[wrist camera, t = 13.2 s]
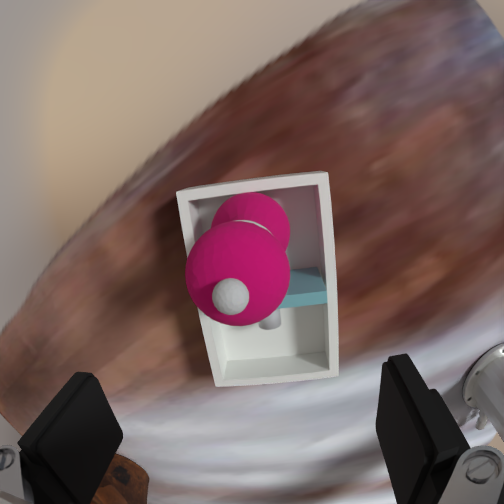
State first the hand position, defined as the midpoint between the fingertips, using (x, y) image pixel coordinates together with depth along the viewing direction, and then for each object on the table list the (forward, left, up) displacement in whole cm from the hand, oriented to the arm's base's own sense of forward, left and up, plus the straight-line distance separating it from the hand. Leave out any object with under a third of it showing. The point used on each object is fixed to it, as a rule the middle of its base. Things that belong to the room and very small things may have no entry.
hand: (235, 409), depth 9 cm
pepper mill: (+1, +1, -26) cm, 26 cm away
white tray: (-5, 0, -27) cm, 27 cm away
